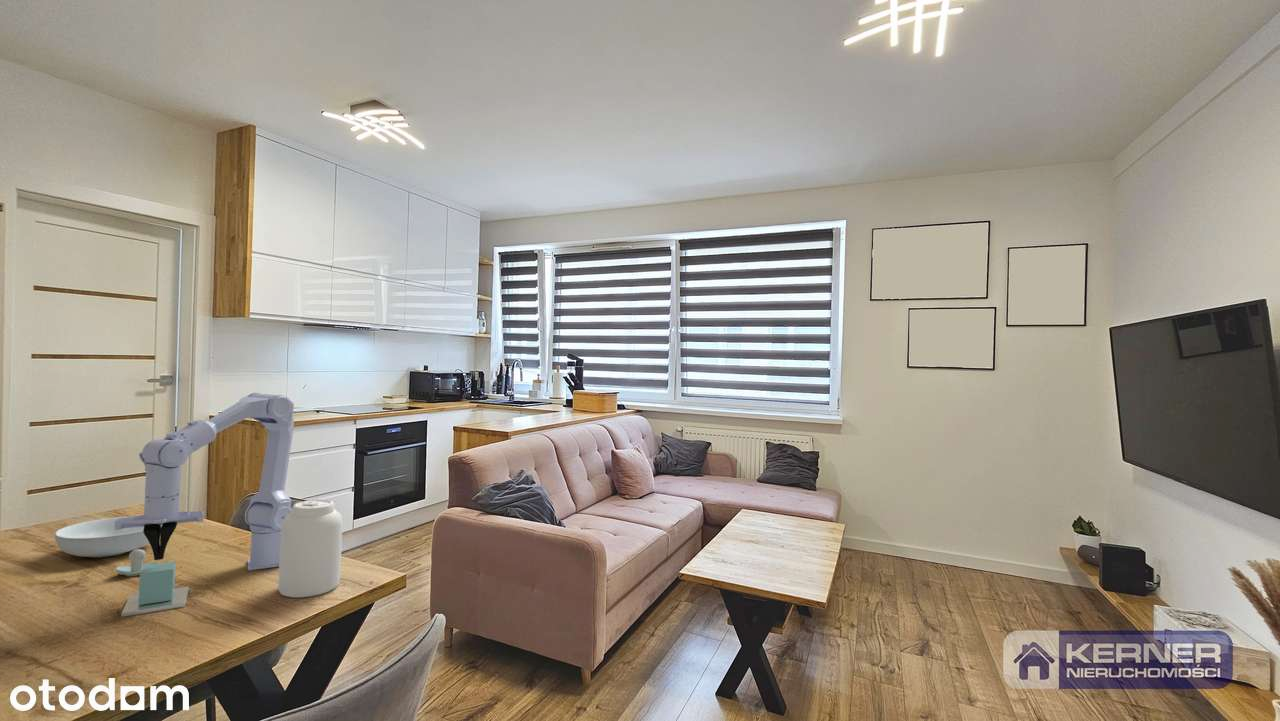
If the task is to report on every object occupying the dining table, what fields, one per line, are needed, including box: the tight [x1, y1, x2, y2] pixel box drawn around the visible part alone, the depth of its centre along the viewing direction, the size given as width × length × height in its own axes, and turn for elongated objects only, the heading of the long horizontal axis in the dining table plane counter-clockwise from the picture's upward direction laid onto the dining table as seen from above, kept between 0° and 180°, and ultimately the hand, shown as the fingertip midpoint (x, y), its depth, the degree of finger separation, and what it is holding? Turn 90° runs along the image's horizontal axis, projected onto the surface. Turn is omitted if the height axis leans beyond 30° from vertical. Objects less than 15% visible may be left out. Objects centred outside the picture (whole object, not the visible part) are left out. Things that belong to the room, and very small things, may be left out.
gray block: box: [120, 586, 190, 618], centre depth 121 cm, size 10×10×7 cm
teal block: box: [138, 560, 177, 605], centre depth 121 cm, size 5×5×7 cm
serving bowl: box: [54, 516, 162, 558], centre depth 150 cm, size 21×21×7 cm
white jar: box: [277, 499, 344, 598], centre depth 132 cm, size 12×12×20 cm
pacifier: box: [115, 548, 158, 577], centre depth 137 cm, size 7×6×6 cm
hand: (159, 558), depth 121 cm, fingers closed
